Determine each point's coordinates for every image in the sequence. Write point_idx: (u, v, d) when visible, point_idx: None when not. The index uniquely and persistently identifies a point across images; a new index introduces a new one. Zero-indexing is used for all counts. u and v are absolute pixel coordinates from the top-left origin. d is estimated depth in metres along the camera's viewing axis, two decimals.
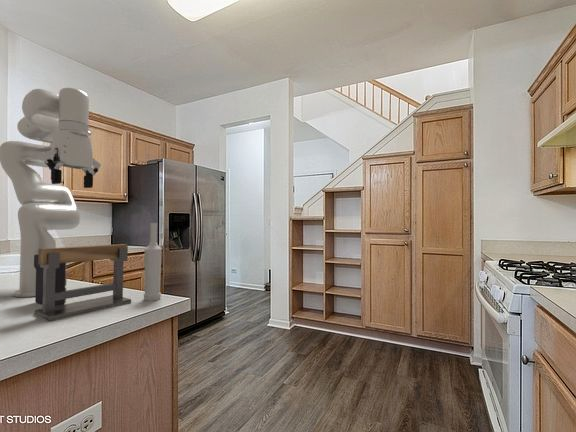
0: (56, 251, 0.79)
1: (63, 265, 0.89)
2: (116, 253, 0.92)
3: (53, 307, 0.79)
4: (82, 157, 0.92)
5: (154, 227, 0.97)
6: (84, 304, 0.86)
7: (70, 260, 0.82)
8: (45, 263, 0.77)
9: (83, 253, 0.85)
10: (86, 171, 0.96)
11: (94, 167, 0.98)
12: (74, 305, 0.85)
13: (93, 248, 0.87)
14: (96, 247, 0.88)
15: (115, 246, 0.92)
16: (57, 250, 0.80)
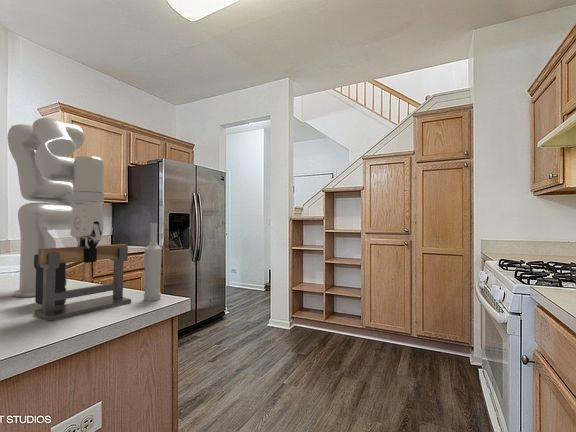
0: (56, 251, 0.79)
1: (63, 265, 0.89)
2: (116, 253, 0.92)
3: (53, 307, 0.79)
4: None
5: (154, 227, 0.97)
6: (84, 304, 0.86)
7: (70, 260, 0.82)
8: (45, 263, 0.77)
9: (83, 253, 0.85)
10: None
11: None
12: (74, 305, 0.85)
13: None
14: None
15: (115, 246, 0.92)
16: (57, 250, 0.79)
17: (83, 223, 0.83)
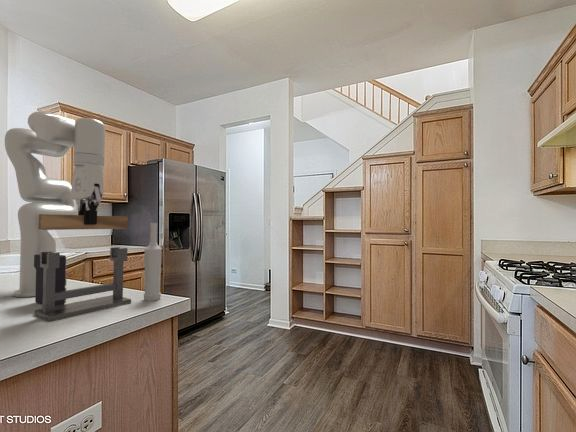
0: (56, 217, 0.80)
1: (63, 265, 0.89)
2: (116, 224, 0.93)
3: (53, 307, 0.79)
4: None
5: (154, 227, 0.97)
6: (84, 304, 0.86)
7: (70, 227, 0.82)
8: (45, 228, 0.78)
9: (83, 221, 0.85)
10: None
11: None
12: (74, 305, 0.85)
13: None
14: None
15: (115, 217, 0.92)
16: (57, 216, 0.80)
17: (84, 184, 0.83)
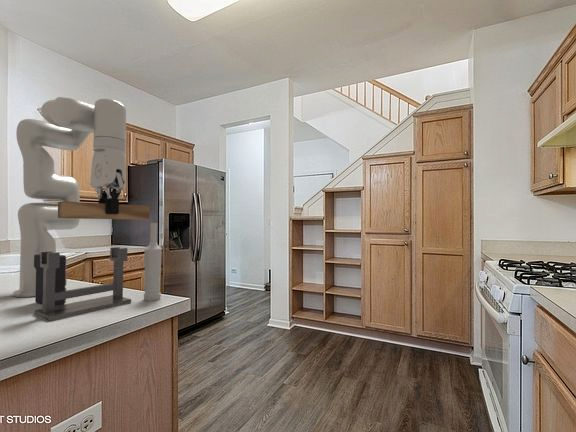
0: (77, 205, 0.73)
1: (63, 265, 0.89)
2: (138, 214, 0.86)
3: (53, 307, 0.79)
4: None
5: (154, 227, 0.97)
6: (84, 304, 0.86)
7: (91, 216, 0.76)
8: (65, 216, 0.71)
9: None
10: None
11: (101, 189, 0.83)
12: (74, 305, 0.85)
13: None
14: None
15: (137, 206, 0.86)
16: (78, 204, 0.73)
17: (105, 170, 0.77)
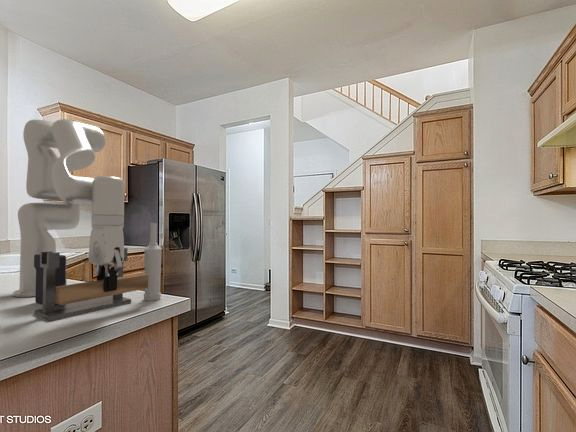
0: (75, 288, 0.73)
1: (63, 265, 0.89)
2: (136, 285, 0.86)
3: (53, 307, 0.79)
4: None
5: (154, 227, 0.97)
6: (84, 304, 0.86)
7: (89, 297, 0.75)
8: (63, 303, 0.71)
9: (103, 288, 0.78)
10: None
11: None
12: (74, 305, 0.85)
13: None
14: None
15: (135, 278, 0.86)
16: (76, 287, 0.73)
17: (103, 250, 0.76)
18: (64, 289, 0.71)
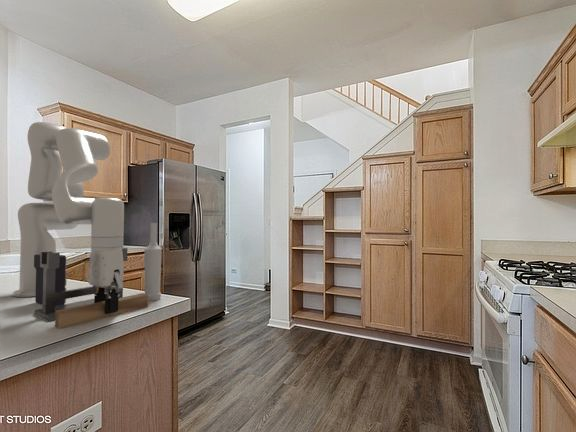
0: (74, 313, 0.73)
1: (63, 265, 0.89)
2: (136, 305, 0.86)
3: (53, 307, 0.79)
4: None
5: (154, 227, 0.97)
6: (84, 304, 0.86)
7: (89, 320, 0.75)
8: None
9: (103, 310, 0.78)
10: None
11: None
12: (74, 305, 0.85)
13: None
14: None
15: (135, 298, 0.85)
16: (75, 311, 0.73)
17: (103, 272, 0.76)
18: (64, 314, 0.71)
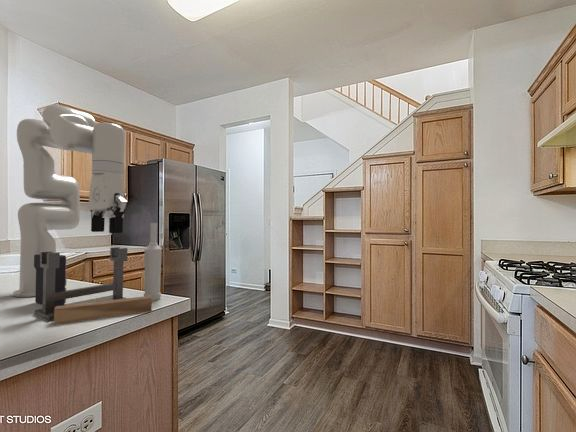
0: (69, 310, 0.75)
1: (63, 265, 0.89)
2: (138, 308, 0.83)
3: (53, 307, 0.79)
4: None
5: (154, 227, 0.97)
6: None
7: (84, 319, 0.76)
8: None
9: (99, 310, 0.78)
10: None
11: None
12: None
13: (110, 304, 0.79)
14: (114, 303, 0.80)
15: (136, 300, 0.83)
16: (70, 309, 0.75)
17: (103, 194, 0.77)
18: (57, 311, 0.73)
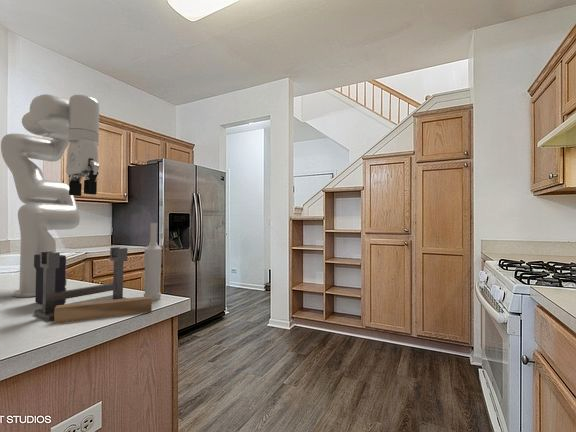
0: (68, 309, 0.75)
1: (63, 265, 0.89)
2: (137, 309, 0.83)
3: (53, 307, 0.79)
4: None
5: (154, 227, 0.97)
6: None
7: (84, 318, 0.77)
8: None
9: (99, 310, 0.78)
10: None
11: None
12: None
13: (110, 304, 0.79)
14: (113, 303, 0.80)
15: (136, 301, 0.82)
16: (70, 308, 0.75)
17: (78, 159, 0.85)
18: (58, 309, 0.74)
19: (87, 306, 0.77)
